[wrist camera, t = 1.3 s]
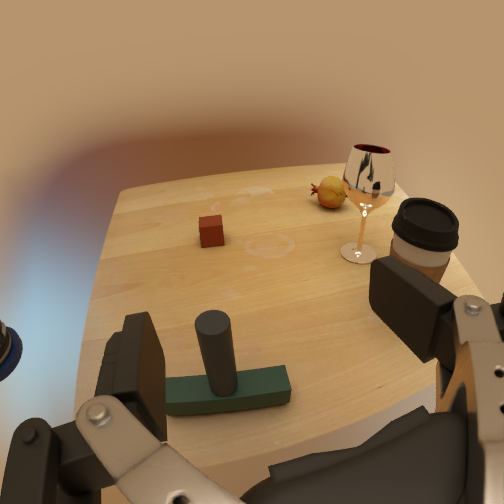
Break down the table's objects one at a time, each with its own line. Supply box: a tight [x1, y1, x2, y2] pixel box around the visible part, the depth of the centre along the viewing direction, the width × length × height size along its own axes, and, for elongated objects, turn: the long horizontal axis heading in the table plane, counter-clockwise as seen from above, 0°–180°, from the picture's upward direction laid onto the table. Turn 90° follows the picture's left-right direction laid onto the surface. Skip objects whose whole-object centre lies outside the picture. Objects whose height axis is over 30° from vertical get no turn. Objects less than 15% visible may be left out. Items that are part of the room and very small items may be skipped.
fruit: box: [311, 176, 347, 208], centre depth 65 cm, size 7×7×10 cm
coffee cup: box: [390, 198, 459, 284], centre depth 34 cm, size 8×8×15 cm
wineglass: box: [340, 144, 395, 264], centre depth 45 cm, size 8×8×18 cm
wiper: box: [165, 310, 291, 415], centre depth 25 cm, size 12×3×12 cm, turn 98°
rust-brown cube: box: [199, 215, 224, 248], centre depth 54 cm, size 4×4×4 cm
